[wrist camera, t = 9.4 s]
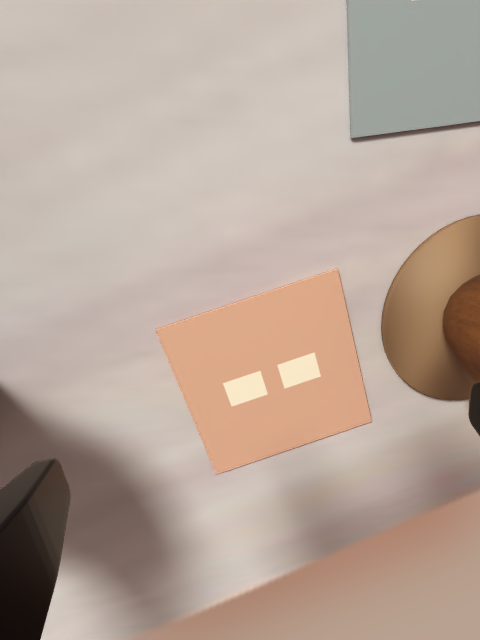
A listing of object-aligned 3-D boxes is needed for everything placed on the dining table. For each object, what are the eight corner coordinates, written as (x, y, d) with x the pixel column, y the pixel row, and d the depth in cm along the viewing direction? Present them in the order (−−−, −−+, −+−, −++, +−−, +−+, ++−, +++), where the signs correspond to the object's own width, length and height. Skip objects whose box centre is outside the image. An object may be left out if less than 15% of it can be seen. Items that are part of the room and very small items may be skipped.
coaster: (381, 409, 25) (384, 414, 24) (380, 229, 21) (385, 230, 20) (548, 379, 26) (554, 383, 25) (577, 199, 22) (586, 200, 21)
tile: (216, 472, 25) (216, 474, 25) (156, 329, 21) (155, 330, 21) (370, 419, 25) (371, 421, 25) (336, 268, 21) (337, 269, 21)
